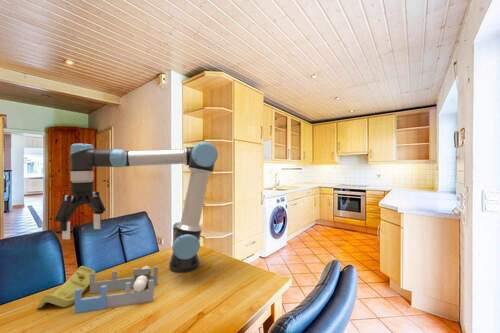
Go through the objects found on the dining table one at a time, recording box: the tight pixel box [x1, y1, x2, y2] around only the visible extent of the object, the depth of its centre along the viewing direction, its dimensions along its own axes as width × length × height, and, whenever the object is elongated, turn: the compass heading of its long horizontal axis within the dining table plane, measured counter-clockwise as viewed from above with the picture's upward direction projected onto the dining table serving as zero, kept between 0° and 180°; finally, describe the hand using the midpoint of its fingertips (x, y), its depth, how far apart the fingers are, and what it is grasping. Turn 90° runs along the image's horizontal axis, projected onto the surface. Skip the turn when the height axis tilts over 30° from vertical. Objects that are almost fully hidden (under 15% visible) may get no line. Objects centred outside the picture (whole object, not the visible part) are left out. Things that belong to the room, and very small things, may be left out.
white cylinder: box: [132, 265, 152, 292], centre depth 90 cm, size 16×5×5 cm, turn 16°
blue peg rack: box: [73, 265, 159, 314], centre depth 87 cm, size 26×13×8 cm, turn 106°
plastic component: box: [37, 265, 97, 309], centre depth 89 cm, size 20×7×10 cm
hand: (82, 233), depth 89 cm, fingers open, 13 cm apart
